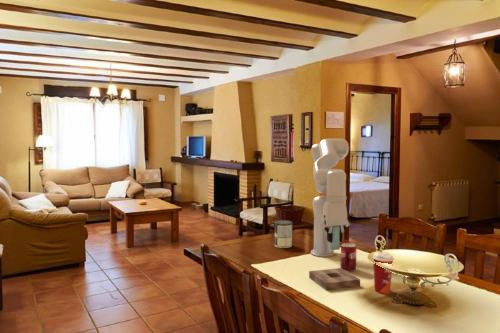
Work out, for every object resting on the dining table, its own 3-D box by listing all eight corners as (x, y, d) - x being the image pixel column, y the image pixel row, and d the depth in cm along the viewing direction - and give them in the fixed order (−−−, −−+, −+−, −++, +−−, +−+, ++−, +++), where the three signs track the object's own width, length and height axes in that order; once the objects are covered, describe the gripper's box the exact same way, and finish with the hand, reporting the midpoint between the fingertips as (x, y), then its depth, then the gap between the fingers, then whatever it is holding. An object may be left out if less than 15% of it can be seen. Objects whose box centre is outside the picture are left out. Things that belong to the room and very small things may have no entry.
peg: (336, 247, 179) (336, 224, 179) (341, 249, 176) (341, 226, 175) (328, 247, 178) (328, 225, 178) (332, 250, 174) (333, 227, 174)
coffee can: (270, 245, 239) (270, 221, 238) (282, 242, 246) (282, 219, 245) (283, 249, 231) (283, 224, 230) (295, 245, 238) (295, 222, 237)
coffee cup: (390, 295, 162) (391, 258, 161) (369, 291, 167) (370, 255, 166) (395, 289, 169) (396, 253, 168) (375, 285, 174) (375, 250, 173)
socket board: (340, 274, 188) (340, 268, 188) (360, 286, 173) (360, 279, 173) (309, 277, 183) (309, 271, 183) (326, 290, 168) (326, 283, 168)
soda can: (357, 268, 197) (357, 244, 196) (354, 273, 190) (355, 247, 189) (342, 266, 200) (342, 242, 199) (338, 270, 193) (339, 245, 192)
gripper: (347, 197, 182) (347, 238, 183) (313, 199, 177) (313, 240, 178) (357, 199, 175) (356, 242, 176) (322, 201, 170) (321, 244, 171)
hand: (334, 241), depth 177 cm, fingers closed on peg, 4 cm apart
